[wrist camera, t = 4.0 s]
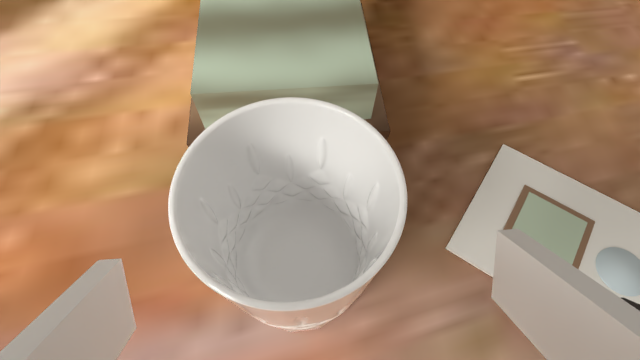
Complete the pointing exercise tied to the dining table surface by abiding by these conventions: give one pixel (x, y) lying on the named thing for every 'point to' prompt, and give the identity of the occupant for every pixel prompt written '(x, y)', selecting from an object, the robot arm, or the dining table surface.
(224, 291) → the white cup
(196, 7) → the dining table surface
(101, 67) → the dining table surface
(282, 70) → the tower base
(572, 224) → the page
